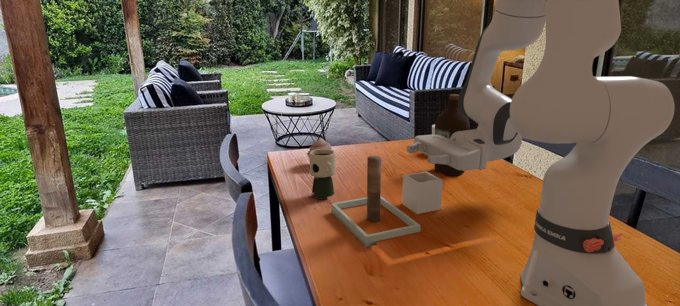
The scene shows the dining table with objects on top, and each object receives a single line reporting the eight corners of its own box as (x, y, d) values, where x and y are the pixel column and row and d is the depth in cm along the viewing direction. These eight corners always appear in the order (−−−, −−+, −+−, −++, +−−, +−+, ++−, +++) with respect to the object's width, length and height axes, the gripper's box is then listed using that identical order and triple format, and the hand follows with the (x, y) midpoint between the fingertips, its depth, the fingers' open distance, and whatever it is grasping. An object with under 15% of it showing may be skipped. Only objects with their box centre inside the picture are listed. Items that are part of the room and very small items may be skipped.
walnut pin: (382, 221, 110) (383, 158, 105) (370, 224, 109) (371, 160, 104) (376, 216, 113) (377, 155, 108) (364, 218, 111) (365, 156, 107)
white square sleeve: (440, 212, 116) (442, 179, 114) (416, 217, 114) (418, 184, 111) (424, 202, 123) (426, 171, 120) (401, 206, 120) (403, 175, 117)
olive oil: (451, 164, 154) (456, 91, 146) (473, 173, 145) (479, 96, 137) (425, 169, 149) (429, 93, 142) (446, 178, 140) (452, 99, 133)
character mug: (304, 192, 131) (302, 148, 127) (326, 187, 134) (325, 145, 130) (319, 205, 121) (318, 159, 117) (343, 200, 124) (342, 155, 120)
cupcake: (323, 160, 159) (323, 132, 156) (340, 166, 152) (340, 138, 149) (301, 165, 153) (300, 137, 151) (317, 172, 146) (317, 143, 144)
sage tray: (420, 235, 105) (420, 225, 104) (366, 247, 99) (366, 237, 99) (379, 203, 122) (379, 195, 122) (331, 212, 117) (331, 203, 116)
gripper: (441, 127, 124) (397, 132, 119) (492, 146, 106) (443, 153, 101) (439, 149, 126) (396, 155, 121) (490, 171, 108) (442, 179, 103)
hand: (418, 154), depth 111 cm, fingers open, 8 cm apart
